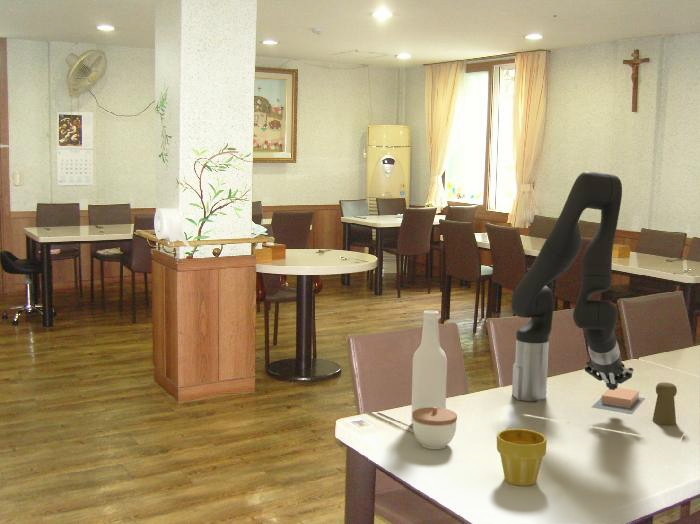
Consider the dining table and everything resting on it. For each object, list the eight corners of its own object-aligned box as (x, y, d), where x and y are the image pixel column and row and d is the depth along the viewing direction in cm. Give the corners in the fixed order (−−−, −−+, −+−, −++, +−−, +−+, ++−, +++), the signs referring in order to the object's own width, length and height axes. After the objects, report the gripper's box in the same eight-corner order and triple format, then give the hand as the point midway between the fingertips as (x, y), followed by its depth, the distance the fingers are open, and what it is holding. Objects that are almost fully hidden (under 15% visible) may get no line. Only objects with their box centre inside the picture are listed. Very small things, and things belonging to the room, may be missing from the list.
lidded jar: (403, 440, 191) (404, 403, 190) (441, 435, 195) (443, 398, 194) (425, 455, 181) (426, 416, 180) (464, 449, 186) (465, 411, 184)
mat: (631, 415, 213) (631, 413, 213) (591, 408, 219) (591, 407, 219) (645, 399, 228) (645, 398, 228) (606, 393, 234) (606, 392, 234)
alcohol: (407, 427, 201) (409, 313, 197) (416, 417, 209) (418, 307, 205) (440, 432, 198) (443, 315, 194) (448, 421, 206) (451, 309, 202)
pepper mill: (678, 428, 203) (681, 387, 202) (654, 426, 204) (656, 385, 203) (673, 421, 209) (676, 381, 208) (650, 419, 210) (652, 379, 209)
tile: (630, 399, 218) (639, 390, 227) (601, 395, 222) (610, 386, 232) (630, 408, 218) (638, 398, 228) (601, 403, 222) (610, 394, 232)
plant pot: (500, 489, 162) (502, 444, 161) (491, 470, 173) (492, 428, 171) (550, 490, 162) (552, 444, 161) (538, 471, 173) (540, 428, 171)
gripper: (633, 343, 202) (640, 379, 214) (582, 337, 209) (591, 372, 221) (628, 367, 198) (635, 402, 210) (575, 360, 205) (585, 394, 217)
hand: (612, 387), depth 215 cm, fingers closed
